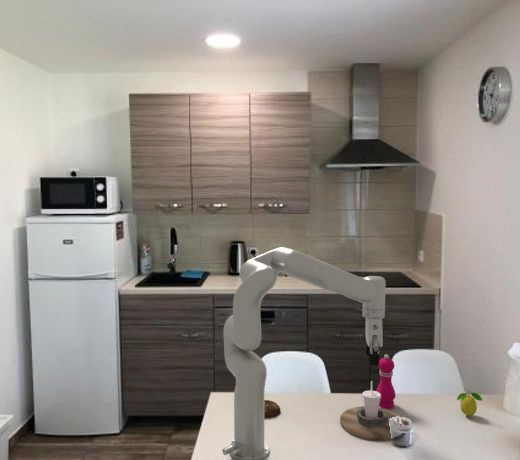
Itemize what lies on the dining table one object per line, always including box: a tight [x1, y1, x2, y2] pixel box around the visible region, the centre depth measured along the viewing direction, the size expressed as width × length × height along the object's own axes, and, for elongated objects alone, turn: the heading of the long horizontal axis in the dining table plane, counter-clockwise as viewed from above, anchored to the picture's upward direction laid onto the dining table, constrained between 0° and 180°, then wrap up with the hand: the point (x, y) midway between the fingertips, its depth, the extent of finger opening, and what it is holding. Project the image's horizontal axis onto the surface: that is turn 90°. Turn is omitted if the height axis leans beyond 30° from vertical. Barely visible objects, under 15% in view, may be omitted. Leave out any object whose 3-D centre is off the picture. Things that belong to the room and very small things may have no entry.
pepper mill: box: [375, 353, 396, 410], centre depth 185 cm, size 7×7×20 cm
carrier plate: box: [339, 406, 399, 441], centre depth 171 cm, size 22×22×4 cm
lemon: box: [456, 391, 483, 417], centre depth 177 cm, size 7×6×10 cm
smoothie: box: [362, 380, 381, 419], centre depth 170 cm, size 6×6×14 cm
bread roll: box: [264, 399, 281, 418], centre depth 181 cm, size 11×11×5 cm
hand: (372, 360), depth 169 cm, fingers open, 9 cm apart
